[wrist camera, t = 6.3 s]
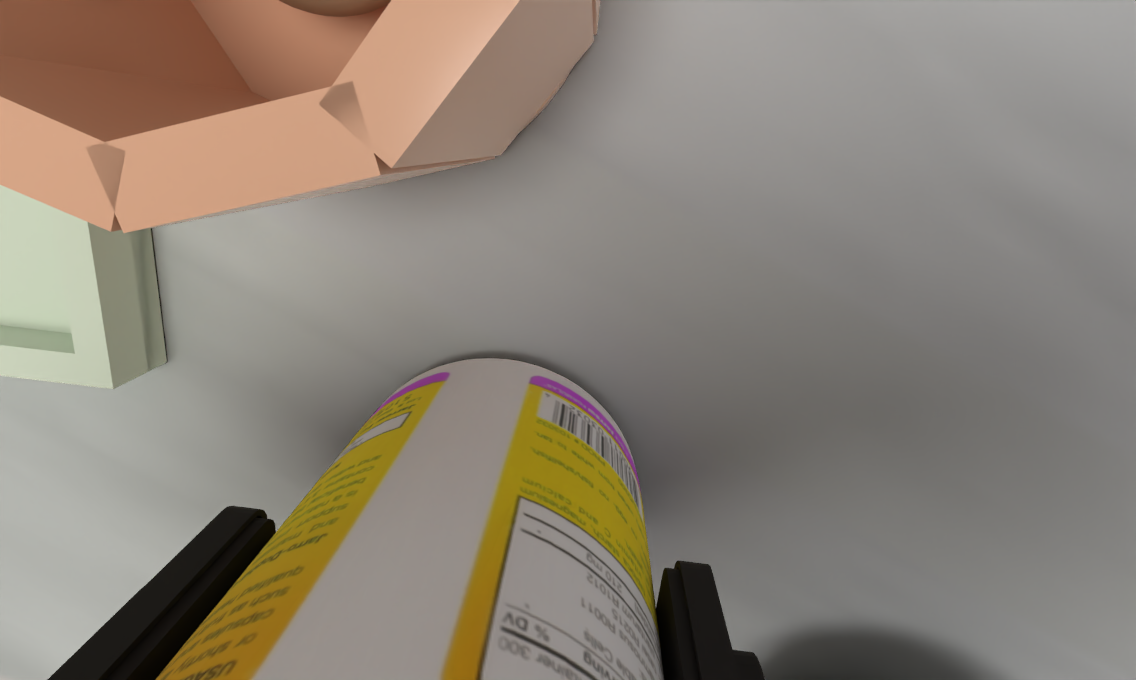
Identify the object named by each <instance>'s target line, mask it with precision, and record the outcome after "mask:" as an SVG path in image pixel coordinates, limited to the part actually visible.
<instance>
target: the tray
mask: <svg viewBox="0 0 1136 680" xmlns="http://www.w3.org/2000/svg"><path fill="white" fill-rule="evenodd" d="M166 362H167V359H166V351H165V343H164V334H163V326H162V318H161V310H160V301H159V293H158V285H157V277H156V269H155V260H154V252H153V244H152V236H151V228H149V229H144V230H138V231H133V232H128V233H123V231H122V230H118V231H113V232H110V231H108V230H105V229H103V228H101V227H98V226H96V225H94V224H91V223H89V222H87V221H84V220H82V219H80V218H77V217H75V216H73V215H70V214H68V213H66V212H63V211H61V210H58V209H56V208H54V207H51V206H49V205H47V204H44V203H42V202H40V201H37V200H35V199H33V198H30V197H28V196H26V195H23V194H21V193H19V192H16V191H14V190H12V189H9V188H7V187H4V186H2V185H0V376H7V377H16V378H24V379H33V380H41V381H49V382H58V383H66V384H75V385H83V386H91V387H100V388H108V389H115V388H117V387H119V386H121V385H123V384H125V383H127V382H129V381H130V380H132V379H134V378H136V377H138V376H140V375H142V374H144V373H146V372H148V371H150V370H152V369H154V368H156V367H158V366H160V365H162V364H164V363H166Z"/></svg>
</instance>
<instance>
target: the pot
mask: <svg viewBox="0 0 1136 680" xmlns="http://www.w3.org/2000/svg"><path fill="white" fill-rule="evenodd" d="M600 1H601V0H391V1H390V3H388V4H386V5H385V6H383V7H381V8H379V9H376V10H374V11H372V12H369V13H365V14H361V15H355V16H347V17H332V16H323V15H317V14H312V13H309V12H306V11H303V10H300V9H297V8H294V7H291V6H289V5H287V4H285V3H283V2H281V1H279V0H0V185H2V186H4V187H7V188H9V189H12V190H14V191H16V192H19V193H21V194H23V195H26V196H28V197H30V198H33V199H35V200H37V201H40V202H42V203H44V204H47V205H49V206H51V207H54V208H56V209H58V210H61V211H63V212H66V213H68V214H70V215H73V216H75V217H77V218H80V219H82V220H84V221H87V222H89V223H91V224H94V225H96V226H98V227H101V228H103V229H105V230H108V231H110V232H113V231H118V230H122V231H123V233H128V232H133V231H138V230H144V229H149V228H154V227H160V226H165V225H170V224H176V223H181V222H186V221H191V220H197V219H202V218H207V217H213V216H218V215H223V214H229V213H234V212H239V211H244V210H250V209H255V208H260V207H266V206H271V205H276V204H282V203H287V202H292V201H298V200H303V199H308V198H313V197H319V196H324V195H329V194H335V193H340V192H345V191H351V190H356V189H361V188H367V187H371V186H376V185H380V184H384V183H389V182H393V181H398V180H402V179H407V178H411V177H416V176H420V175H425V174H430V173H434V172H439V171H443V170H447V169H452V168H456V167H461V166H465V165H470V164H474V163H478V162H483V161H487V160H492V159H495V156H500V155H501V154H502V153H503V152H504V151H505V149H506V148H507V147H508V146H509V145H510V143H511V142H512V141H513V140H514V139H515V137H516V136H517V135H518V134H519V132H521V131H522V130H523V129H525V128H526V127H527V126H528V125H529V124H530V123H531V122H532V121H533V120H534V119H535V118H536V117H537V116H538V115H539V114H540V113H541V112H542V111H543V110H544V109H545V108H546V106H547V105H548V104H549V102H550V101H551V100H552V99H553V97H554V96H555V95H556V93H557V92H558V91H559V89H560V88H561V87H562V85H563V84H564V82H565V80H566V79H567V77H568V75H569V74H570V72H571V70H572V68H573V67H574V65H575V64H576V63H577V62H578V61H579V59H580V58H581V57H582V56H583V55H584V53H585V52H586V51H587V50H588V48H589V47H590V46H591V45H592V44H593V42H594V35H597V29H598V19H599V10H600Z"/></svg>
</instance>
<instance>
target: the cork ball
mask: <svg viewBox="0 0 1136 680" xmlns="http://www.w3.org/2000/svg"><path fill="white" fill-rule="evenodd" d="M279 1H281V2H283V3H285V4H287V5H289V6H291V7H294V8H297V9H300V10H303V11H306V12H309V13H312V14H317V15H323V16H332V17H347V16H355V15H361V14H365V13H369V12H372V11H374V10H376V9H379V8H381V7H383V6H385V5H386V4H388V3H390V1H391V0H279Z"/></svg>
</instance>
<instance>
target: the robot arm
mask: <svg viewBox="0 0 1136 680" xmlns="http://www.w3.org/2000/svg"><path fill="white" fill-rule="evenodd" d="M275 533H276V531H275V523H274V521H273V520H271V519H267V515H266V513H265V511H264V510H261V509H253V508H245V507H237V506H229V507H227V508H225V509H224V510H223V511H221V512H220V513H219V514H218V515H217V516H216V517H215V518H214V519H213V520H212V521H211V522H210V523H209V524H208V525H207V526H206V527H205V528H204V529H203V530H202V531H201V532H200V533H199V534H198V535H197V536H196V537H195V538H194V539H193V540H192V541H191V542H190V543H189V544H188V545H187V546H185V547H184V548H183V549H182V550H181V551H180V552H179V553H178V554H177V555H176V556H175V557H174V558H173V559H172V560H171V561H170V562H169V563H168V564H167V565H166V566H165V567H164V568H163V569H162V570H161V571H160V572H159V573H158V574H157V575H156V576H155V577H154V578H153V579H152V580H151V581H149V582H148V583H147V584H146V585H145V586H144V587H143V588H142V589H141V590H139V591H138V592H137V593H136V594H135V595H134V596H133V597H132V598H131V599H130V600H129V601H128V602H127V603H126V604H125V605H124V606H123V607H122V608H121V609H120V610H119V611H118V612H117V613H116V614H115V615H114V616H113V617H112V618H111V619H110V620H109V621H108V622H107V623H105V624H104V625H103V626H102V627H101V628H100V629H99V630H98V631H97V632H96V633H95V634H94V635H93V636H92V637H91V638H90V639H89V640H88V641H87V642H86V643H85V644H84V645H83V646H82V647H81V648H80V649H79V650H78V651H77V652H76V653H75V654H74V655H72V656H71V657H70V658H69V659H68V660H67V661H66V662H65V663H64V664H63V665H62V666H61V667H60V668H59V669H58V670H57V671H56V672H55V673H54V674H53V675H52V676H51V677H50V678H49V679H48V680H156V678H157V677H158V676H159V675H160V673H161V672H162V671H163V670H164V669H165V667H166V666H167V665H168V664H169V662H170V661H171V660H172V659H173V658H174V656H175V655H176V654H177V653H178V651H179V650H180V649H181V648H182V647H183V645H184V644H185V643H186V642H187V640H188V639H189V638H190V637H191V635H192V634H193V633H194V632H195V631H196V630H197V628H198V627H199V626H200V625H201V624H202V622H203V621H204V620H205V619H206V618H207V616H208V615H209V614H210V613H211V612H212V610H213V609H214V608H215V607H216V606H217V604H218V603H219V602H220V601H221V600H222V598H223V597H224V596H225V595H226V593H227V592H228V591H229V590H230V588H231V587H232V586H233V585H234V583H235V582H236V581H237V580H238V578H239V577H240V576H241V575H242V573H243V572H244V571H245V570H246V569H247V567H248V566H249V565H250V564H251V562H252V561H253V560H254V559H255V558H256V556H257V555H258V554H259V553H260V551H261V550H262V549H263V548H264V547H265V545H266V544H267V543H268V542H269V540H270V539H271V538H272V537H273V536H274V534H275ZM656 615H657V623H658V631H659V638H660V647H661V656H662V666H663V673H664V680H765V679H764V675H763V672H762V669H761V666H760V663H759V661H758V658H757V657H756V655H755V654H754V653H752V652H744V651H737V650H732V646H731V643H730V639H729V635H728V631H727V627H726V623H725V620H724V616H723V612H722V608H721V604H720V600H719V596H718V593H717V589H716V585H715V581H714V577H713V573H712V570H711V567H710V566H709V565H708V564H701V563H693V562H685V561H677V562H676V564H675V567H674V569H671V568H665V569H664V571H663V575H662V580H661V586H660V591H659V596H658V601H657V606H656Z"/></svg>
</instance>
